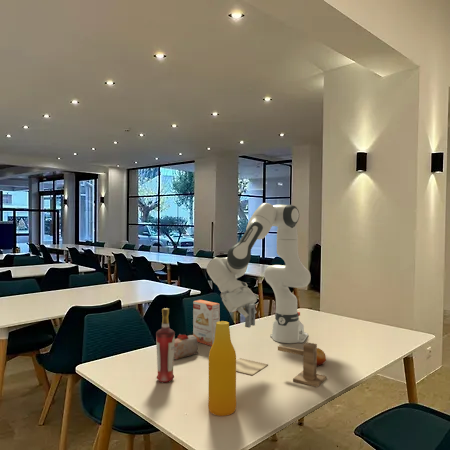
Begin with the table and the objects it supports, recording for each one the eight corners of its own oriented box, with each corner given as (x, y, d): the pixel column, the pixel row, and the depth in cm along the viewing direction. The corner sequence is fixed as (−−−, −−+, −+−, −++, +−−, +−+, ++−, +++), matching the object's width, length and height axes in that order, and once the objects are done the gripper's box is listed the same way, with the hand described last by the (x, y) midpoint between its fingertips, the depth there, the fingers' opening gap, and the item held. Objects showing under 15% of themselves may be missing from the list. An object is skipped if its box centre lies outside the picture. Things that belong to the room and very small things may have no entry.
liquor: (157, 376, 161) (158, 306, 161) (176, 376, 161) (176, 307, 160) (154, 383, 154) (154, 311, 153) (173, 384, 154) (173, 311, 153)
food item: (175, 361, 179) (175, 339, 178) (165, 356, 184) (165, 335, 184) (199, 354, 188) (199, 333, 188) (189, 350, 194) (189, 330, 194)
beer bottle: (203, 413, 130) (204, 324, 130) (214, 401, 139) (214, 318, 139) (230, 418, 127) (230, 327, 127) (239, 406, 136) (240, 320, 135)
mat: (240, 358, 182) (240, 358, 182) (267, 365, 174) (267, 364, 174) (223, 368, 170) (223, 367, 170) (252, 375, 162) (252, 374, 162)
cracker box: (192, 341, 208) (192, 300, 208) (200, 338, 213) (201, 299, 212) (211, 347, 199) (211, 304, 198) (220, 344, 203) (220, 303, 203)
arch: (250, 324, 174) (251, 303, 173) (255, 325, 172) (255, 304, 172) (245, 326, 169) (245, 305, 169) (249, 327, 168) (249, 306, 168)
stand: (283, 368, 170) (283, 335, 170) (326, 378, 160) (326, 343, 160) (273, 376, 162) (273, 341, 162) (317, 387, 152) (317, 350, 151)
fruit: (310, 355, 183) (318, 342, 180) (323, 368, 178) (331, 355, 175) (299, 359, 177) (307, 346, 174) (312, 373, 172) (321, 359, 169)
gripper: (223, 288, 166) (243, 315, 161) (247, 282, 183) (266, 306, 178) (214, 297, 168) (234, 324, 163) (239, 291, 185) (257, 315, 180)
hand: (251, 315), depth 171 cm, fingers closed on arch, 5 cm apart
